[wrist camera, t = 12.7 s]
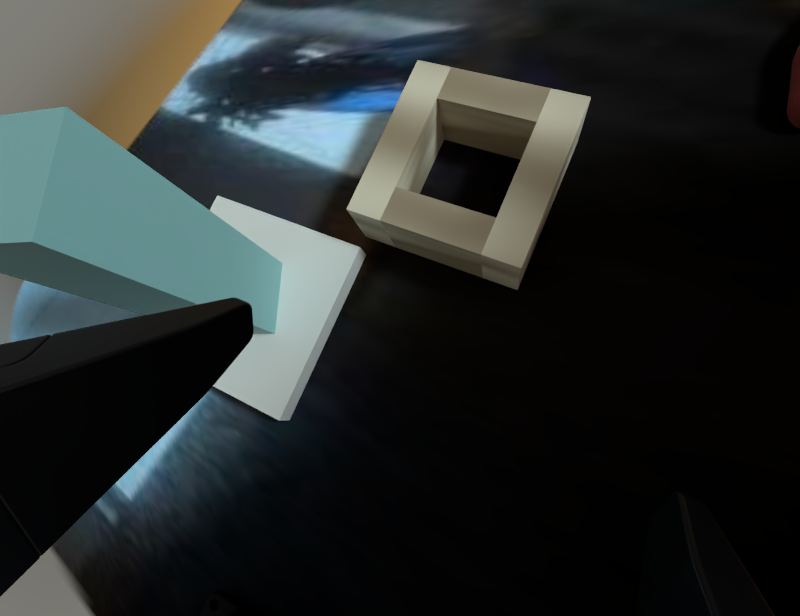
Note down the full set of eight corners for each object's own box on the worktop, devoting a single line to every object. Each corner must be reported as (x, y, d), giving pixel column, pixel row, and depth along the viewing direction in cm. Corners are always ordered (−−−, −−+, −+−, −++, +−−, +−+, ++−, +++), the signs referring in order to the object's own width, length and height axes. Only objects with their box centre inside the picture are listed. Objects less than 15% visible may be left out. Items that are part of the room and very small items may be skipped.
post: (275, 333, 24) (31, 241, 11) (209, 333, 24) (-85, 248, 12) (282, 263, 24) (65, 106, 12) (218, 265, 25) (-45, 121, 13)
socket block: (517, 290, 23) (521, 268, 19) (366, 236, 25) (346, 209, 22) (577, 141, 24) (591, 97, 20) (427, 105, 26) (417, 60, 23)
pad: (289, 420, 23) (279, 420, 22) (153, 349, 26) (137, 346, 25) (366, 254, 25) (360, 247, 24) (228, 204, 28) (217, 195, 26)
